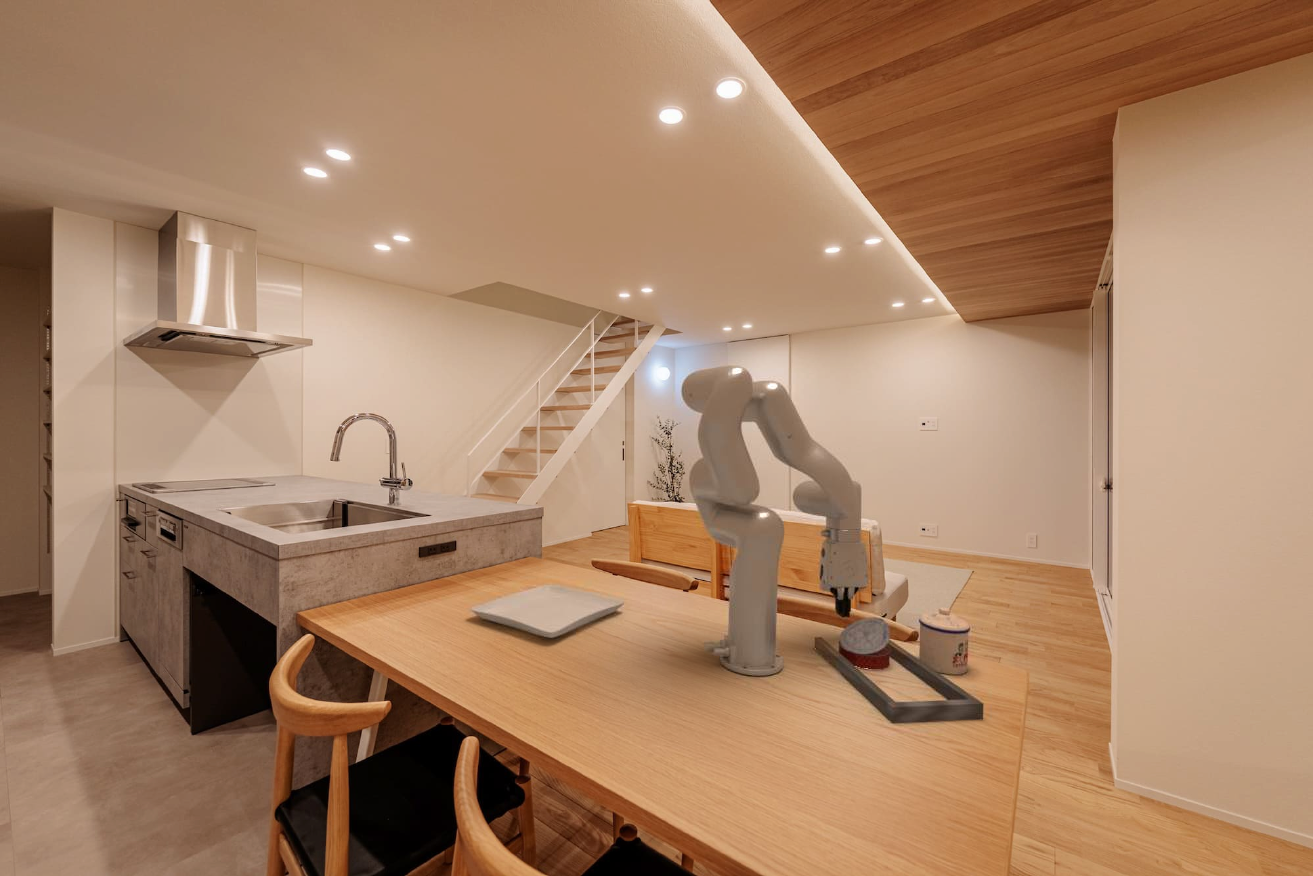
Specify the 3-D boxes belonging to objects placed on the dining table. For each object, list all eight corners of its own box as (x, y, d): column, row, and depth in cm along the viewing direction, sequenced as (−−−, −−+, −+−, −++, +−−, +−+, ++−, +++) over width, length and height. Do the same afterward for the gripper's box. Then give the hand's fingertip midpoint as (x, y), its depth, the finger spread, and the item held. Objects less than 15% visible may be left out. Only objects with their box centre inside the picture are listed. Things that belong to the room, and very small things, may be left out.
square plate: (627, 614, 134) (627, 599, 134) (551, 649, 111) (551, 631, 111) (548, 595, 148) (549, 581, 148) (467, 622, 125) (467, 606, 125)
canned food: (889, 691, 106) (902, 657, 101) (837, 680, 107) (847, 646, 102) (880, 645, 115) (891, 613, 111) (832, 636, 117) (842, 604, 112)
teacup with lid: (962, 680, 100) (964, 619, 100) (912, 665, 107) (913, 608, 107) (976, 661, 109) (978, 605, 109) (928, 649, 116) (930, 596, 115)
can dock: (892, 722, 85) (892, 707, 85) (814, 648, 114) (814, 637, 114) (983, 718, 87) (983, 703, 87) (883, 647, 116) (884, 635, 116)
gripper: (819, 539, 115) (818, 623, 115) (883, 537, 117) (882, 619, 117) (805, 532, 122) (804, 611, 123) (865, 530, 124) (865, 608, 124)
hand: (843, 615), depth 120 cm, fingers closed
